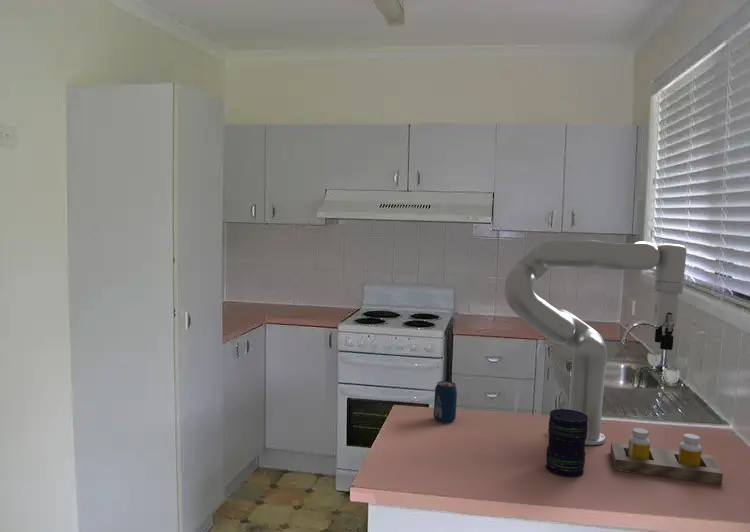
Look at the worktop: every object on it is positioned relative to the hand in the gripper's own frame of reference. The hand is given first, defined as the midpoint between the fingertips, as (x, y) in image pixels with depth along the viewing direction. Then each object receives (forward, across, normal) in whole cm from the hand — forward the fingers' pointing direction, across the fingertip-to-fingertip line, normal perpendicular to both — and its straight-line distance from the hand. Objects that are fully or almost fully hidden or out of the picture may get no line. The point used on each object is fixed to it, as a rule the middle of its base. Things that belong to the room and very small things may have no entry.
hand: (663, 345), depth 193 cm
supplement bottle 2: (+31, +16, +6) cm, 35 cm away
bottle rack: (+30, +16, 0) cm, 34 cm away
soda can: (+31, 0, -62) cm, 69 cm away
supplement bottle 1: (+31, +16, -6) cm, 35 cm away
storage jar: (+31, +27, -26) cm, 48 cm away
